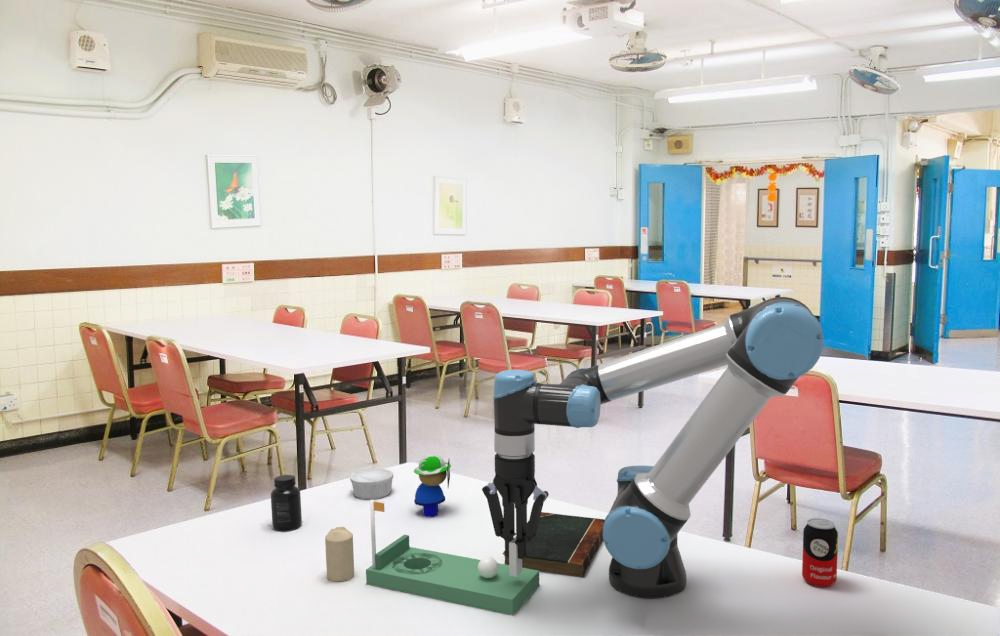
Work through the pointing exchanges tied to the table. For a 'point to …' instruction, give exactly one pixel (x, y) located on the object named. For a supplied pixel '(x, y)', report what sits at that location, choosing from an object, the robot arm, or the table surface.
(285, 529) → the supplement bottle
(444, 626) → the table surface
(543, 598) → the table surface
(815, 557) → the beverage can
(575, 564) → the book
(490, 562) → the ball
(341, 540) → the candle
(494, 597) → the green
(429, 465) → the toy
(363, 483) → the ramekin
